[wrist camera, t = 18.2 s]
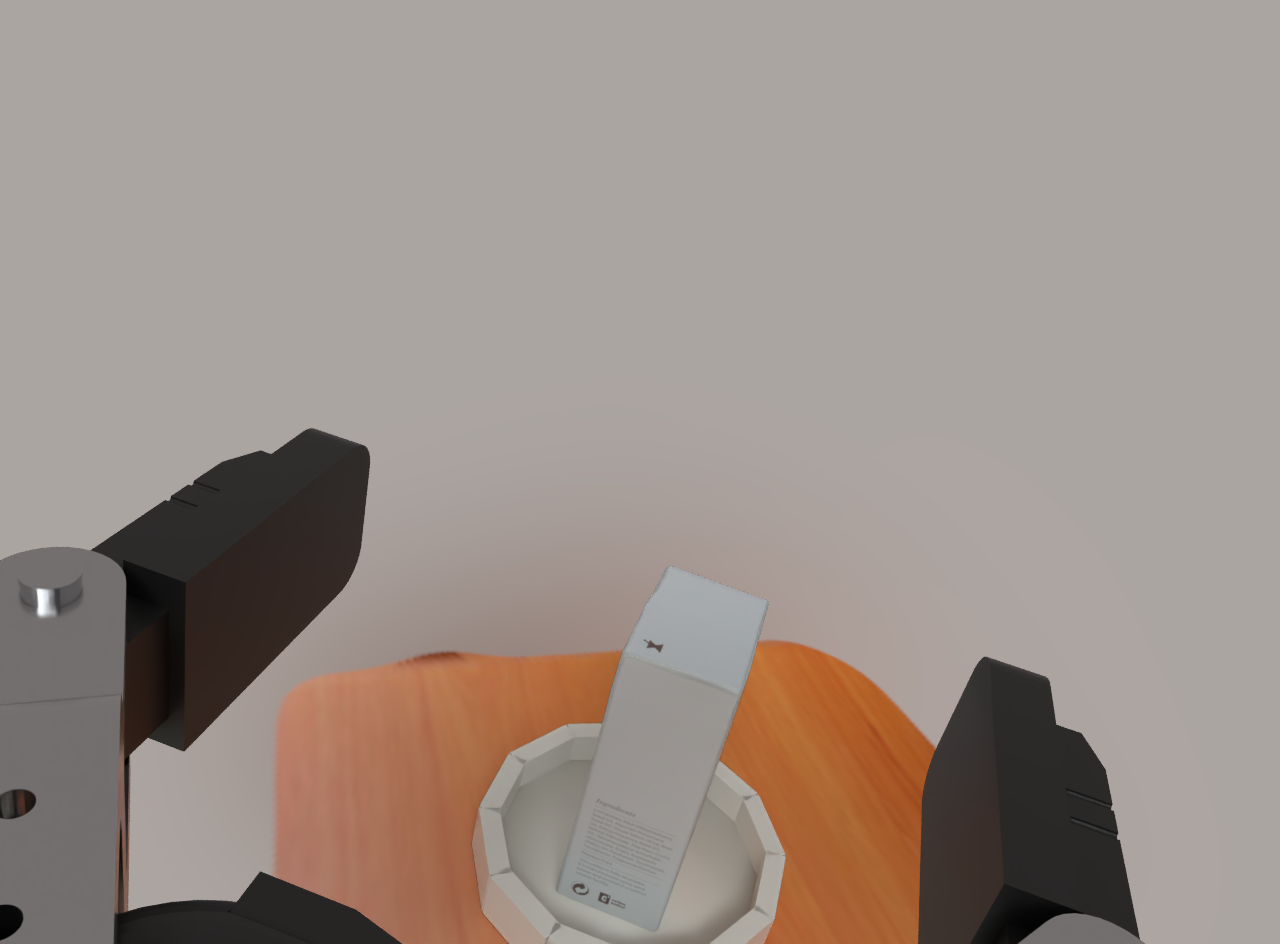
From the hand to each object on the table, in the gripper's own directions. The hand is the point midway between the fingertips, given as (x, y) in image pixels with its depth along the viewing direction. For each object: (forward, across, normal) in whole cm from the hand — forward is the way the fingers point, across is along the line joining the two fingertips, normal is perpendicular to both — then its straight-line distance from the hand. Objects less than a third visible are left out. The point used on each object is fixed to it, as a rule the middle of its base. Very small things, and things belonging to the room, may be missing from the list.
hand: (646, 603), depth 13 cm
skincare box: (+19, 0, +26) cm, 32 cm away
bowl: (+19, 0, +26) cm, 32 cm away
